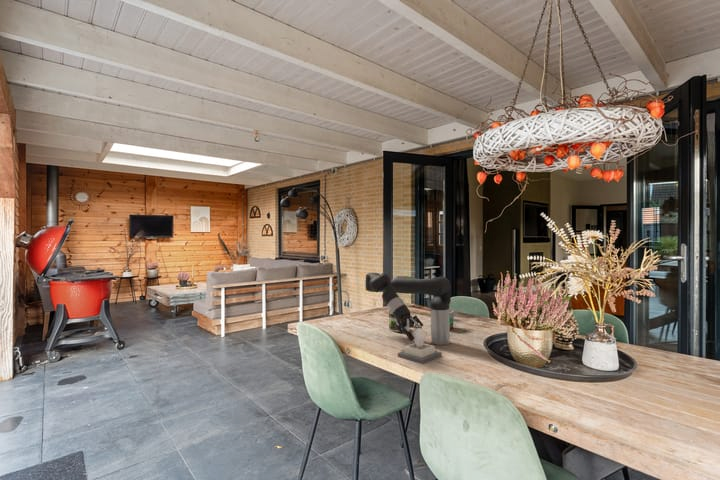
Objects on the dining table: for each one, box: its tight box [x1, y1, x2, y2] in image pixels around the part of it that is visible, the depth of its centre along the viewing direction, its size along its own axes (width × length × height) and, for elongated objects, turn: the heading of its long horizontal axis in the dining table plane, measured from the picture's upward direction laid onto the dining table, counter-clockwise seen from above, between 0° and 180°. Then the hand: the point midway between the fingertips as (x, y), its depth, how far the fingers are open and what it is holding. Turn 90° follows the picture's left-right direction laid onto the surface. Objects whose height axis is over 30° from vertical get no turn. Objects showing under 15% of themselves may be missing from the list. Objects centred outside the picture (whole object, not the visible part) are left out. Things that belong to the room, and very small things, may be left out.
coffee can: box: [388, 309, 403, 333], centre depth 215 cm, size 10×10×14 cm
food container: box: [449, 309, 456, 331], centre depth 214 cm, size 12×6×10 cm, turn 131°
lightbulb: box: [411, 328, 427, 350], centre depth 167 cm, size 6×6×11 cm
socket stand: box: [397, 342, 443, 364], centre depth 167 cm, size 14×14×4 cm
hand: (418, 337), depth 166 cm, fingers open, 8 cm apart
